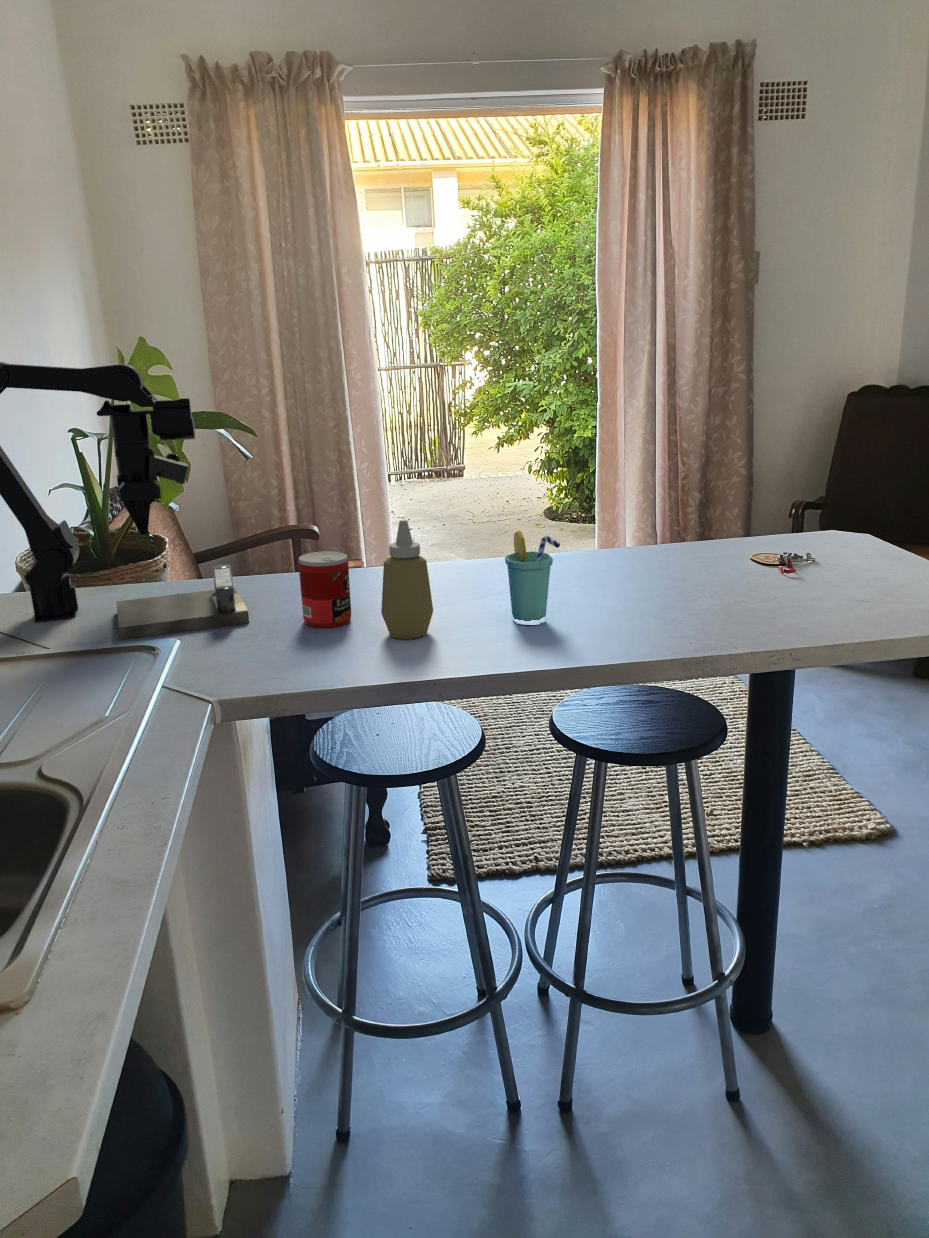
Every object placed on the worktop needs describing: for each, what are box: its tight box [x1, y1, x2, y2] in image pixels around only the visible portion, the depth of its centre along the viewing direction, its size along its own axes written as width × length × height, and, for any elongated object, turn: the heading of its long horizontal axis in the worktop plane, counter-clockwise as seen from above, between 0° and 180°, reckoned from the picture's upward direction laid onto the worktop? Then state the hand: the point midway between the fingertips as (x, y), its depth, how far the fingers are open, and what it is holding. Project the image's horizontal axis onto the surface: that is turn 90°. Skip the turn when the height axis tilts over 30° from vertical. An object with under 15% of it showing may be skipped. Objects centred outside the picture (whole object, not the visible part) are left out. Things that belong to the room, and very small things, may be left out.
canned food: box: [298, 550, 352, 629], centre depth 145 cm, size 8×8×11 cm
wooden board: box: [115, 587, 250, 641], centre depth 150 cm, size 20×16×2 cm
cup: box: [504, 530, 561, 621], centre depth 142 cm, size 14×8×15 cm, turn 30°
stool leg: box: [211, 564, 236, 614], centre depth 151 cm, size 18×3×4 cm, turn 16°
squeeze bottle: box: [380, 519, 434, 640], centre depth 137 cm, size 8×8×18 cm
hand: (144, 534), depth 153 cm, fingers closed
